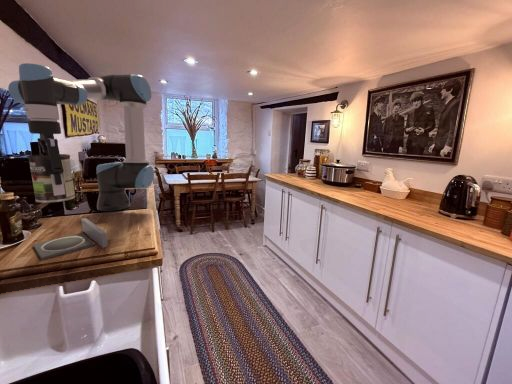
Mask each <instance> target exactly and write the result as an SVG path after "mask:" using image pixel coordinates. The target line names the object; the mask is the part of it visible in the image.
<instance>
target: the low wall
mask: <svg viewBox="0 0 512 384" xmlns="http://www.w3.org/2000/svg"><path fill="white" fill-rule="evenodd" d="M80 221H81V226H82V231H83V233H85V234H86V236H87V237H88V238H90V239H92V240H93V242H94V243H96V244H98V245H99V246H100V247H101V248H103V249H104V248H107V247H109V245H108V244H109V243H108V236H107V232H106V231H105V230H103V228H101V227H99V226H97V225H96V224H95V223H93V222H92V221H91V220H89V219H88V218H86V217H84V218H81V219H80Z"/></svg>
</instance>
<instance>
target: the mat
mask: <svg viewBox="0 0 512 384" xmlns="http://www.w3.org/2000/svg"><path fill="white" fill-rule="evenodd" d="M95 245H96V244H95V241H92V240H91V238H90V237H89V236H88V235H85V234H84V232H78V233H74V234H70V235H67V236H66V235H65V236H62V237H58V238H53V239H49V240H45V241H40V242H36V243H33V244H32V246H33V248H34V249H35V251H36V252H37V254H38V256H39V258H40V259H41V260H42V261H43V260H47V259H50V258H54V257H58V256H61V255H65V254H68V253H72V252H76V251H80V250H83V249H86V248H91V247H93V246H94V247H95Z"/></svg>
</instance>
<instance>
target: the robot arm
mask: <svg viewBox="0 0 512 384" xmlns="http://www.w3.org/2000/svg"><path fill="white" fill-rule="evenodd" d="M18 75H19V80H12V81H11V82H10V83H9V84H8V87H7V88H8V89H7V90H8V93H9V95H10V97H11V98H12V99H13V100H14V101H15V102H16V103H19V104H21V105H22V104H23V105H24V107H22V111H24V112H26V114H25V115H26V118H27V119H29V120H28V121H27V126H28V131H29V133H30V134H33V135H34V134H35V135H37V134H39V138H37V144H38V149H39V151H38V152H39V155H40V154H42V155H47V157H49V158H50V160H49V165H50V170H51V172H49V173H48V174H49V175H51V181H52V187H53V193H54V196H56V195H64V194H65V189H64V182H63V176H62V172H64V169H63V166H62V162H61V157H60V154H61V153H60V149H59V141H58V139H57V138H55V137H54V135H60V134H62V127H61V123H60V122H59V121H60V113H59V106H58V105H70V106H78V107H79V106H83V105H85V104H86V103H87V100H89V99H94V100H96V101H102V100H103V101H106V100H107V101H116V102H119V104H120V105H121V107H122V108H123V122H124V123H123V124H124V125H123V126H124V139H125V140H124V144H125V145H124V146H125V159H124V160H123V161H116V162H115V161H114V162H109V163H103V164H102V163H101V164H98V165H97V166H96V172H95V173H96V178H97V186H98V197H97V201H96V210H97V211H100V212H114V211H115V212H116V211H122V210H125V209H128V208H130V207H131V200H130V199H129V196H128V194H127V193H126V189H133V190H134V189H137V190H145V189H148V188H149V187H150V186H152V184H153V182H154V178H155V170H154V168H153V166H151V165H149V161H148V160H147V158H146V145H145V143H146V142H145V141H146V140H145V119H144V113H145V112H144V109H145V108H146V107H147V102H149V101H151V98H152V89H151V86H150V84H149V82H148V81H147V79H146V78H145V76H143V75H140V74H133V73H131V74H108V75H107V74H106V75H102V76H92V77H88V78H87V79H63V78H58V77H55V76H54V75H55V74H54V73H53V69H51V68H50V67H48V66H47V65H42V64H37V63H32V62H30V63H29V62H27V63H26V62H25V63H21V64H19V65H18Z"/></svg>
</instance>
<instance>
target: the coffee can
mask: <svg viewBox="0 0 512 384" xmlns="http://www.w3.org/2000/svg"><path fill="white" fill-rule="evenodd" d="M26 157H27V159H28V164H29V168H30V174H31V179H32V186H33V193H34V198H35V202H36V203H43V204H46V203H47V204H48V203H59V202H65V201H71V200H73V199H75V198H76V193H75V186H74V179H73V172H72V163H71V154H66V153H65V154H64V153H63V154H62V153H60V157H61V162H62V166H63V169H64V172H62V176H63V182H64V189H65V194H64V195H56V196H54V193H53V187H52V181H51V175H49V174H48V173H49V172H51V170H50V165H49V160H50V158H49V157H47V155H42V154H40V153H39V154H29V155H27V156H26Z"/></svg>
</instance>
